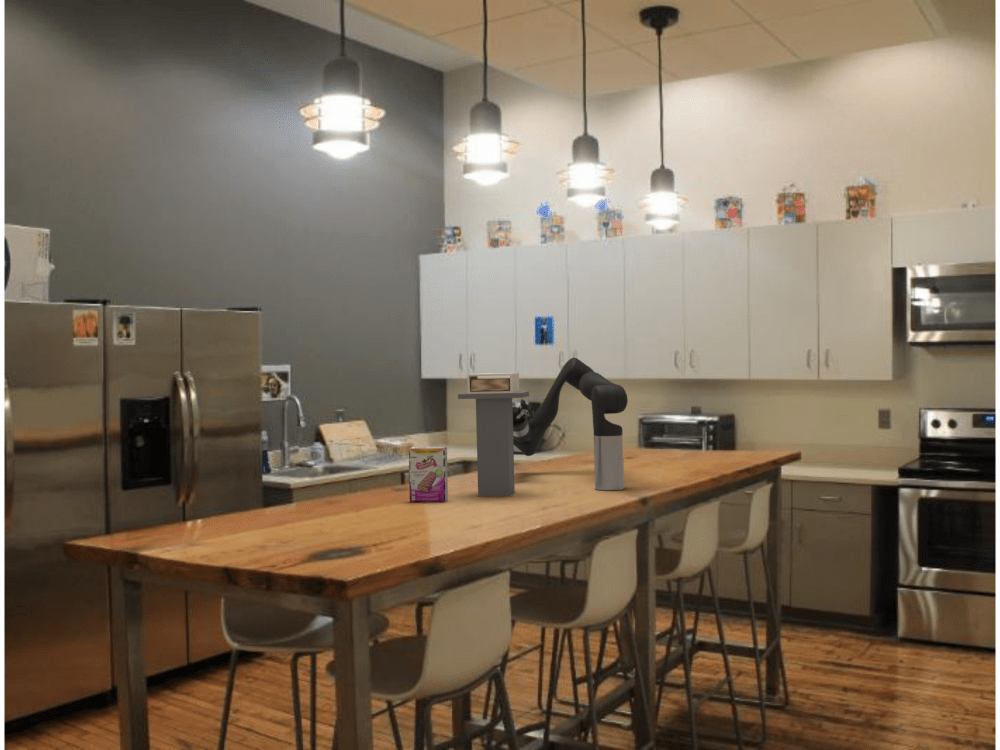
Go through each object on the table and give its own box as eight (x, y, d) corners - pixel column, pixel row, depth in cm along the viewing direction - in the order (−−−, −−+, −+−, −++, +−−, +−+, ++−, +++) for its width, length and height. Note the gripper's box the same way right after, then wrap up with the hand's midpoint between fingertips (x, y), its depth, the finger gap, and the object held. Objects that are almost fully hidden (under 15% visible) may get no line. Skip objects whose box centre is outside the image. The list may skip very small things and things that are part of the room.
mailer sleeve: (519, 391, 313) (518, 372, 312) (512, 393, 301) (511, 373, 301) (476, 392, 315) (475, 373, 315) (467, 393, 304) (467, 374, 303)
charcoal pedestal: (531, 492, 313) (529, 391, 312) (524, 497, 300) (521, 392, 300) (470, 491, 317) (467, 392, 316) (460, 497, 304) (457, 394, 304)
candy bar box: (409, 502, 296) (407, 448, 296) (412, 500, 301) (411, 446, 301) (446, 502, 295) (444, 447, 295) (448, 499, 300) (447, 446, 300)
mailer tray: (522, 387, 323) (521, 377, 323) (509, 390, 301) (509, 379, 301) (486, 388, 325) (486, 378, 325) (471, 390, 304) (470, 379, 304)
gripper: (498, 413, 349) (489, 392, 335) (538, 412, 346) (530, 391, 332) (496, 432, 346) (487, 411, 332) (536, 432, 343) (529, 411, 329)
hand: (509, 401), depth 332 cm, fingers open, 8 cm apart
